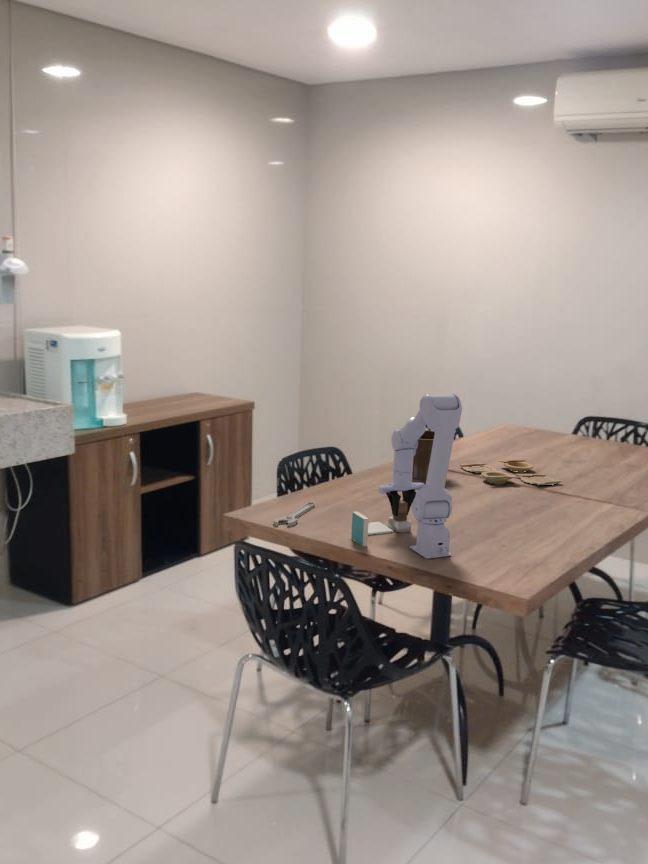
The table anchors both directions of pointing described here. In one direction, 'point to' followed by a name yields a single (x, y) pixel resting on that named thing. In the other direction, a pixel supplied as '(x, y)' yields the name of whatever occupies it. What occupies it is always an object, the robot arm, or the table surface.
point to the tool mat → (378, 528)
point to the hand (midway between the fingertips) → (400, 514)
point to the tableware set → (502, 478)
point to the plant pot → (423, 455)
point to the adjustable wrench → (294, 515)
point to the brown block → (400, 519)
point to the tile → (359, 528)
